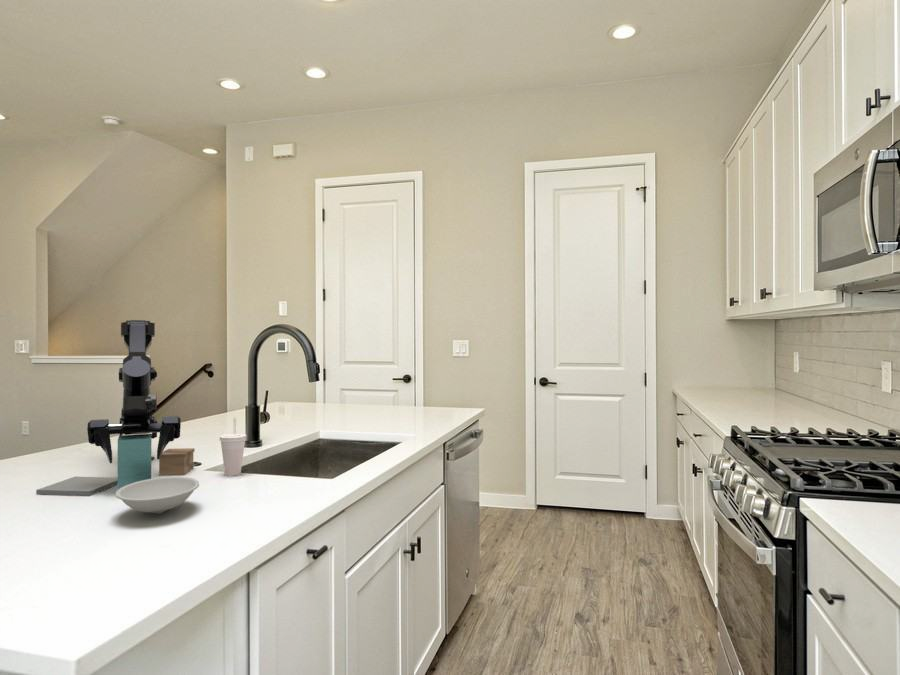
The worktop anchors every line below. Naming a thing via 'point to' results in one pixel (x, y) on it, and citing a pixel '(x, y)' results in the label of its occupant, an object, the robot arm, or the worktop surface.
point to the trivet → (79, 486)
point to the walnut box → (176, 461)
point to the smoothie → (233, 451)
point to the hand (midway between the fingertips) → (134, 460)
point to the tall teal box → (133, 459)
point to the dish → (157, 493)
